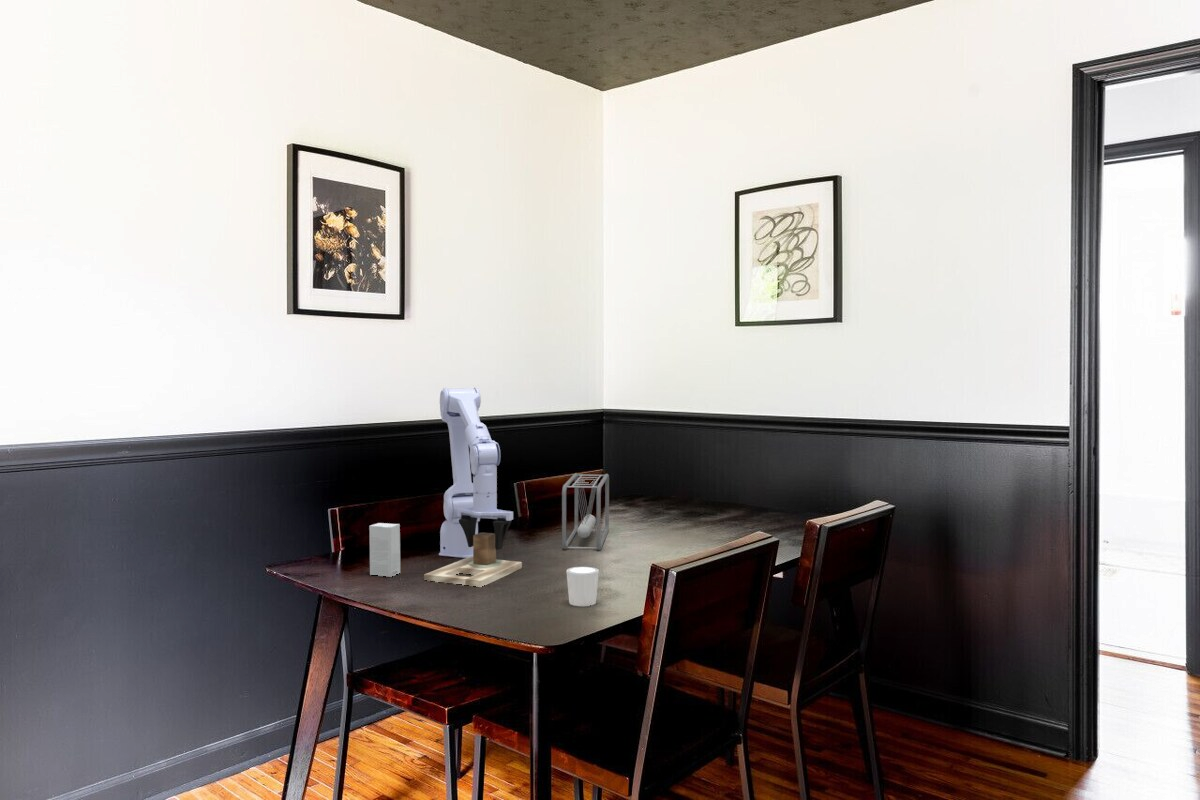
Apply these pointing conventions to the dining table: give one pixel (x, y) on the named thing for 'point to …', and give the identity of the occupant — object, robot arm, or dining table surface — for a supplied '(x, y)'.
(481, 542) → the block
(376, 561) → the skincare box
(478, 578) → the board
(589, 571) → the shot glass
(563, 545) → the newton's cradle
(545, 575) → the dining table surface
